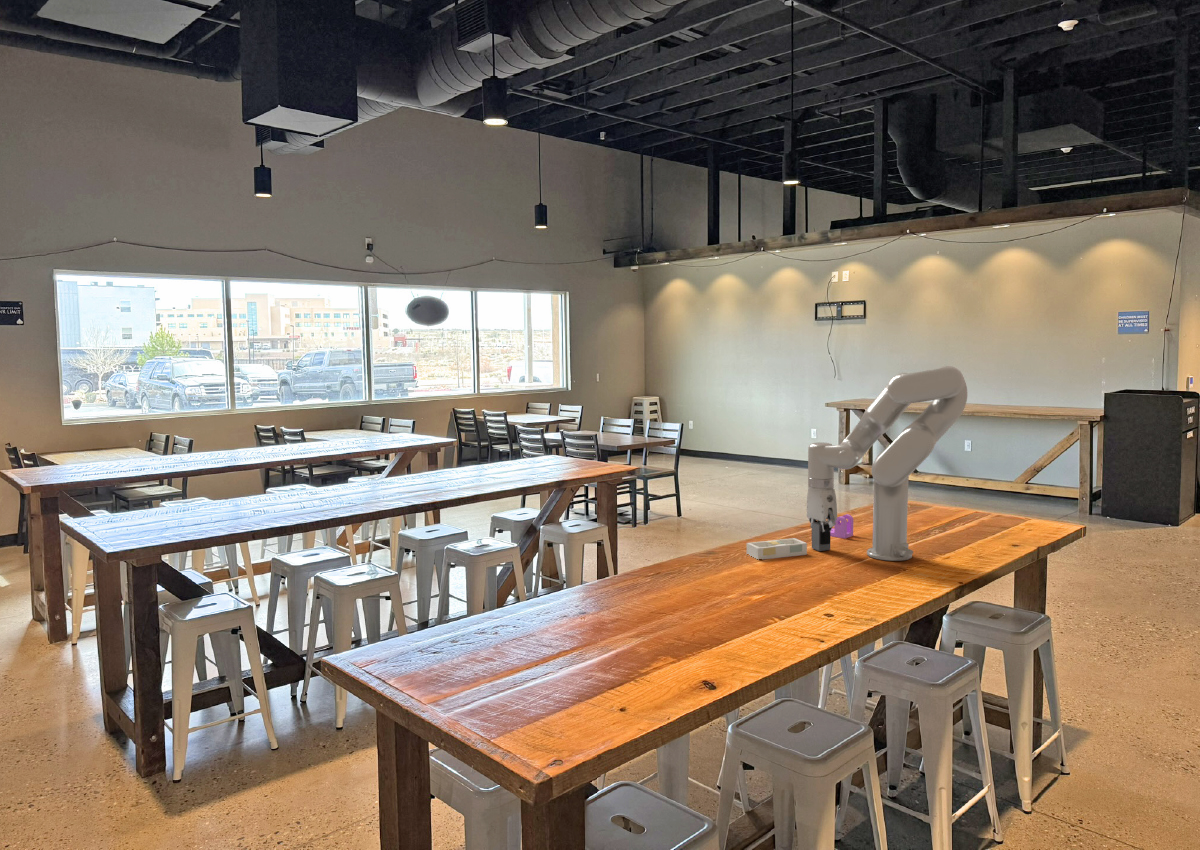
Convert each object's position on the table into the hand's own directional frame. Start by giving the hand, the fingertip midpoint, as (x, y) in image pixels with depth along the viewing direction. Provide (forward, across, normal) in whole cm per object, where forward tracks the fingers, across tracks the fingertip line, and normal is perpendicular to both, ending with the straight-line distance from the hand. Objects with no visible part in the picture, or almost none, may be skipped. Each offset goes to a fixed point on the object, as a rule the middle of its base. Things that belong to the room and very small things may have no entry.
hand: (820, 541), depth 249 cm
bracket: (+3, +16, -15) cm, 22 cm away
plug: (+2, 0, 0) cm, 2 cm away
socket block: (+2, 0, +15) cm, 15 cm away
